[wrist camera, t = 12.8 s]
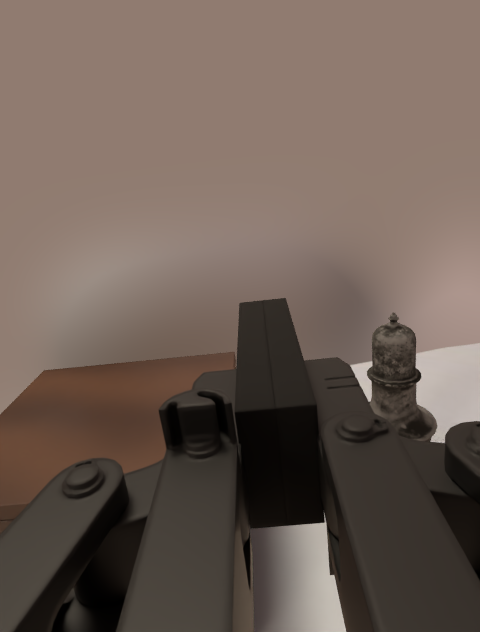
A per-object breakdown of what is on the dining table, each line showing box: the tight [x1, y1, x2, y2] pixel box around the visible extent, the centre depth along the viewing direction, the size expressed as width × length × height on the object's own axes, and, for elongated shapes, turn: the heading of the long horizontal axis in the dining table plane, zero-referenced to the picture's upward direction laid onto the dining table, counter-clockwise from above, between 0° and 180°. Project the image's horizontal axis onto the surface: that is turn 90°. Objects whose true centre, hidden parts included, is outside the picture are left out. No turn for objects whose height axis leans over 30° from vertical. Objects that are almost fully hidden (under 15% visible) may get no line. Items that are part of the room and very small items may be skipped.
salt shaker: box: [367, 313, 437, 442], centre depth 31 cm, size 6×6×12 cm
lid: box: [0, 352, 236, 520], centre depth 26 cm, size 14×15×1 cm
